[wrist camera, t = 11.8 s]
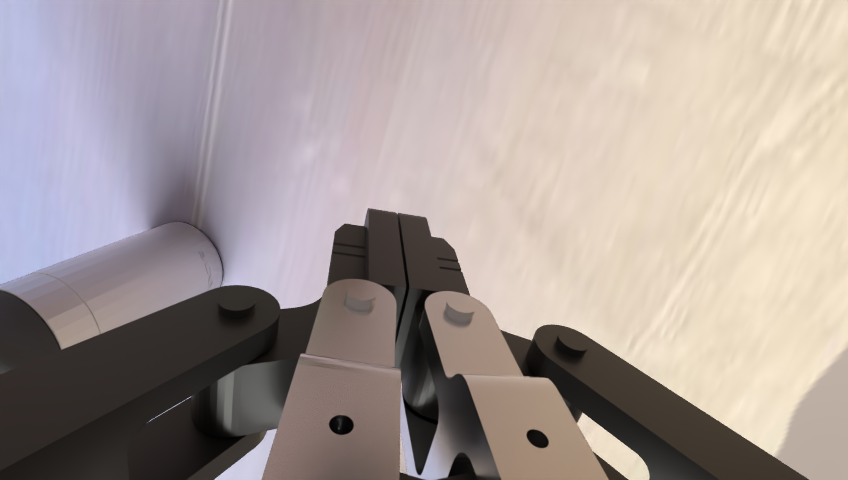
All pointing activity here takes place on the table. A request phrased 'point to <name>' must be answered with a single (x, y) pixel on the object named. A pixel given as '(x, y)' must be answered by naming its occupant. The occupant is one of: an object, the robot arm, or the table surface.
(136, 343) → the robot arm
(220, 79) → the table surface
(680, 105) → the table surface
